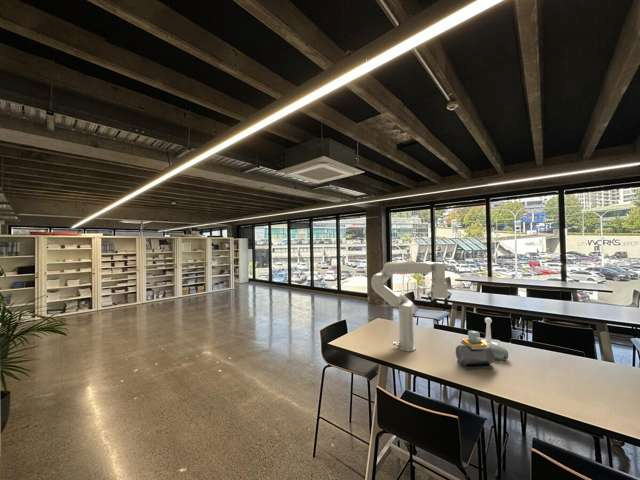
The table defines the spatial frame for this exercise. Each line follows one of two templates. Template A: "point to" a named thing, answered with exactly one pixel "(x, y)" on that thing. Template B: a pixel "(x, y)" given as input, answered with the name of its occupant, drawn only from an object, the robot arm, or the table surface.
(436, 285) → the robot arm
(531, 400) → the table surface
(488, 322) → the joystick
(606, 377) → the table surface
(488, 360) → the motor
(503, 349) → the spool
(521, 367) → the table surface
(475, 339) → the pump
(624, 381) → the table surface
